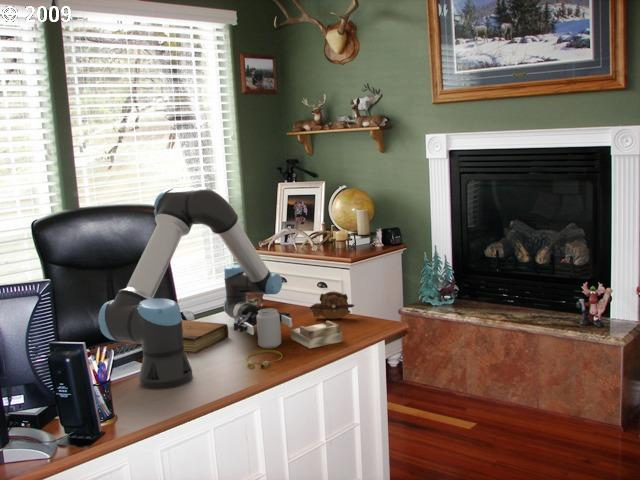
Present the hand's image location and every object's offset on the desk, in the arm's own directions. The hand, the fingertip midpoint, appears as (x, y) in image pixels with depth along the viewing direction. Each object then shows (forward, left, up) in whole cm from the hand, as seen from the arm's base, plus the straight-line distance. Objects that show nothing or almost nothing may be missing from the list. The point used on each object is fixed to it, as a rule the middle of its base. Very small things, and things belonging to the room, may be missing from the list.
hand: (272, 326), depth 237 cm
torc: (-8, -10, -8) cm, 15 cm away
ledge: (+15, -2, -7) cm, 16 cm away
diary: (-22, +24, -8) cm, 34 cm away
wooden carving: (+32, +18, -7) cm, 37 cm away
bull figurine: (+14, +56, -7) cm, 58 cm away
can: (0, +2, -7) cm, 7 cm away
